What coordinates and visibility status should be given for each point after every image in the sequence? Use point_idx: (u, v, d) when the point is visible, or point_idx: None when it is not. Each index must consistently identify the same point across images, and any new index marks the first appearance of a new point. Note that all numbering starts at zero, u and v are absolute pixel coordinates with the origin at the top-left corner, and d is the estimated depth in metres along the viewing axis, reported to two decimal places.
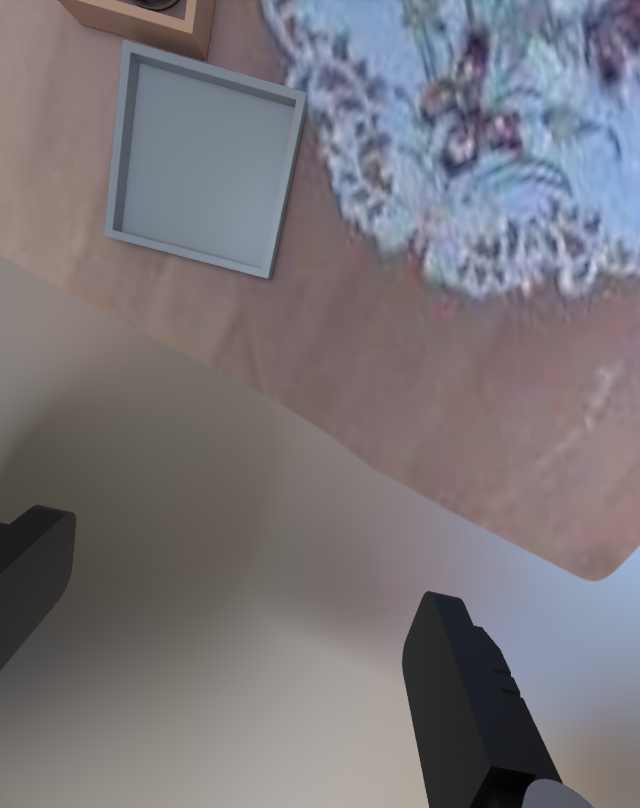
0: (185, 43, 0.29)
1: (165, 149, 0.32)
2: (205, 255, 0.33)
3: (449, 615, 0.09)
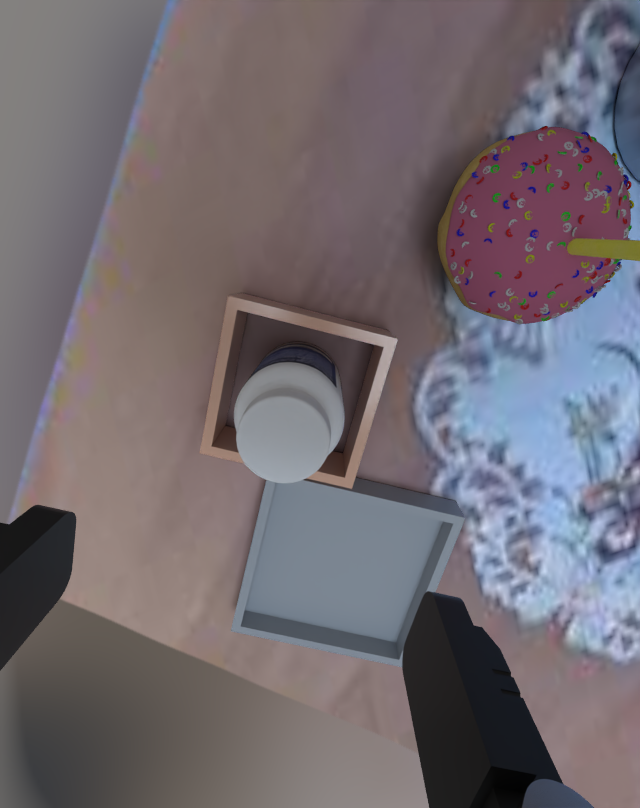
0: None
1: (299, 543, 0.30)
2: (339, 648, 0.30)
3: (449, 615, 0.09)
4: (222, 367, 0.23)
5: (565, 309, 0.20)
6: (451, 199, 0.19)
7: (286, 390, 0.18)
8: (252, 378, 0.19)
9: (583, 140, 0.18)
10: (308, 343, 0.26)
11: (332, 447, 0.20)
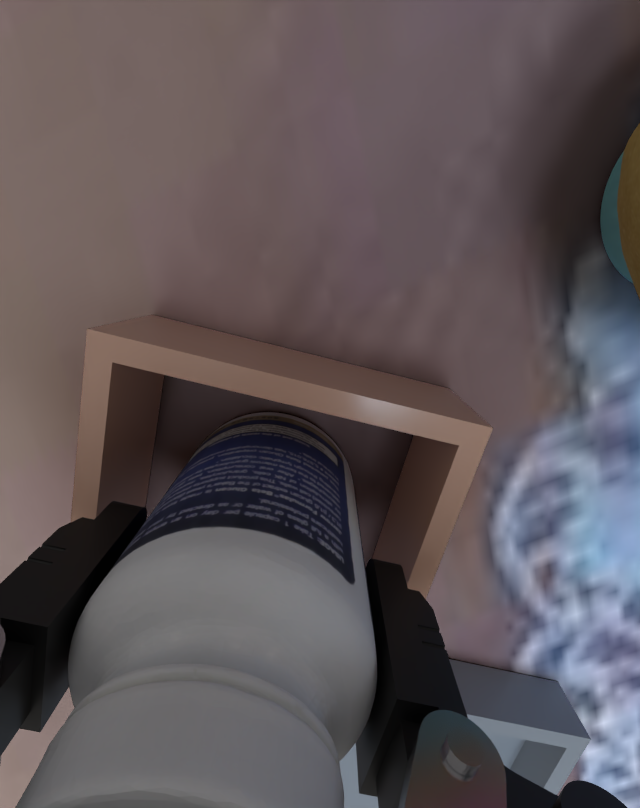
0: None
1: None
2: None
3: (386, 578, 0.09)
4: (90, 488, 0.10)
5: None
6: None
7: (182, 704, 0.05)
8: (110, 584, 0.07)
9: None
10: (289, 415, 0.13)
11: (344, 755, 0.07)
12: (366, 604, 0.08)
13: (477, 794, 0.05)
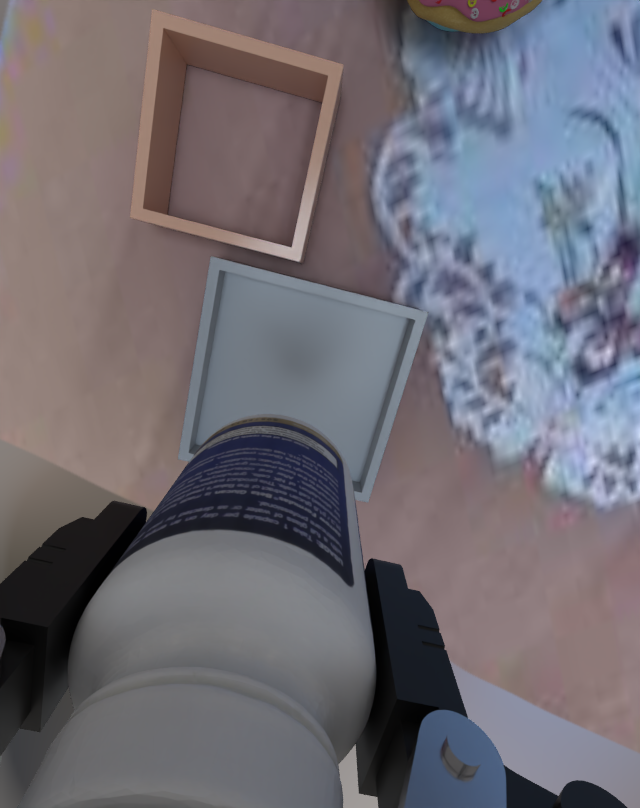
0: (285, 258, 0.24)
1: (251, 360, 0.27)
2: None
3: (385, 578, 0.09)
4: (150, 104, 0.21)
5: None
6: None
7: (181, 708, 0.05)
8: (109, 586, 0.07)
9: None
10: None
11: (343, 757, 0.07)
12: (365, 606, 0.08)
13: (477, 794, 0.05)
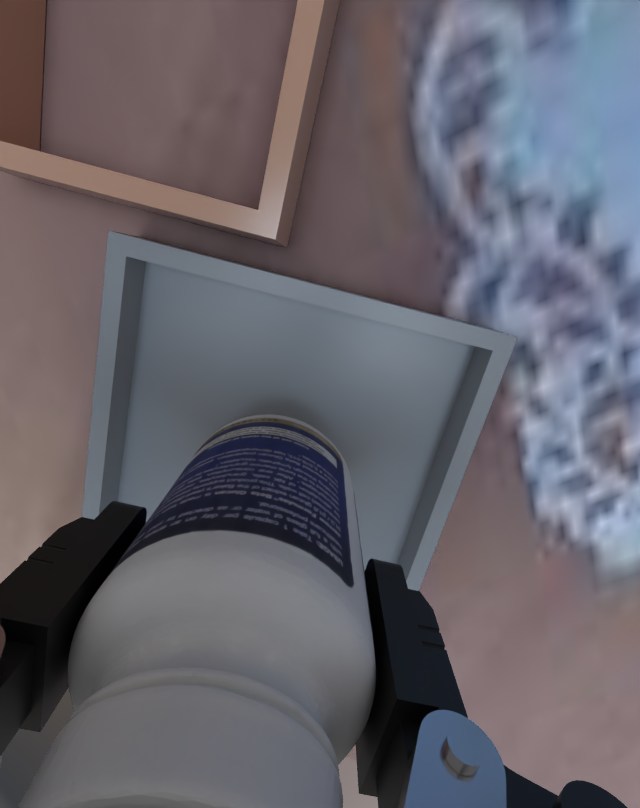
0: (250, 235, 0.13)
1: (198, 414, 0.16)
2: None
3: (385, 578, 0.09)
4: None
5: None
6: None
7: (181, 708, 0.05)
8: (109, 587, 0.07)
9: None
10: (289, 417, 0.13)
11: (343, 758, 0.07)
12: (365, 607, 0.08)
13: (476, 794, 0.05)
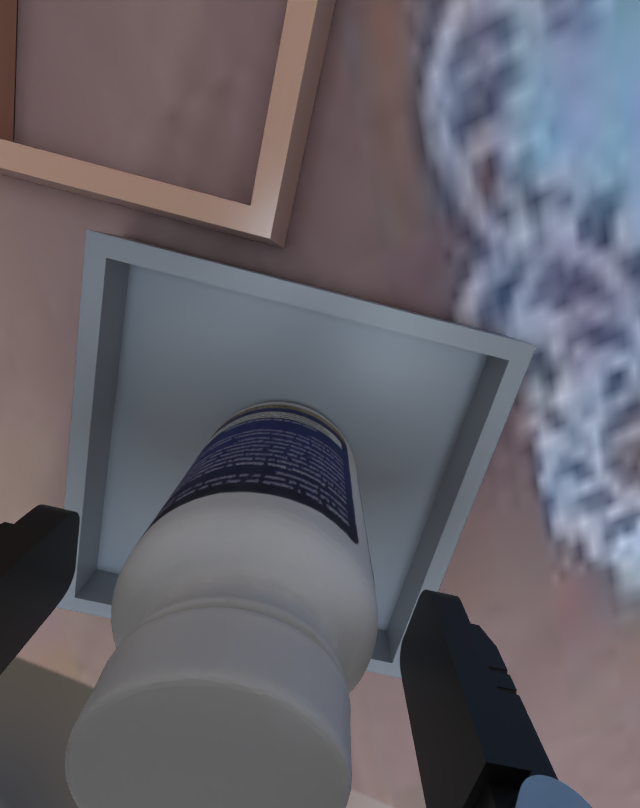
0: (243, 234, 0.12)
1: (188, 428, 0.15)
2: None
3: (446, 613, 0.09)
4: None
5: None
6: None
7: (219, 622, 0.06)
8: (149, 538, 0.08)
9: None
10: (297, 404, 0.14)
11: (349, 692, 0.08)
12: (368, 563, 0.09)
13: None
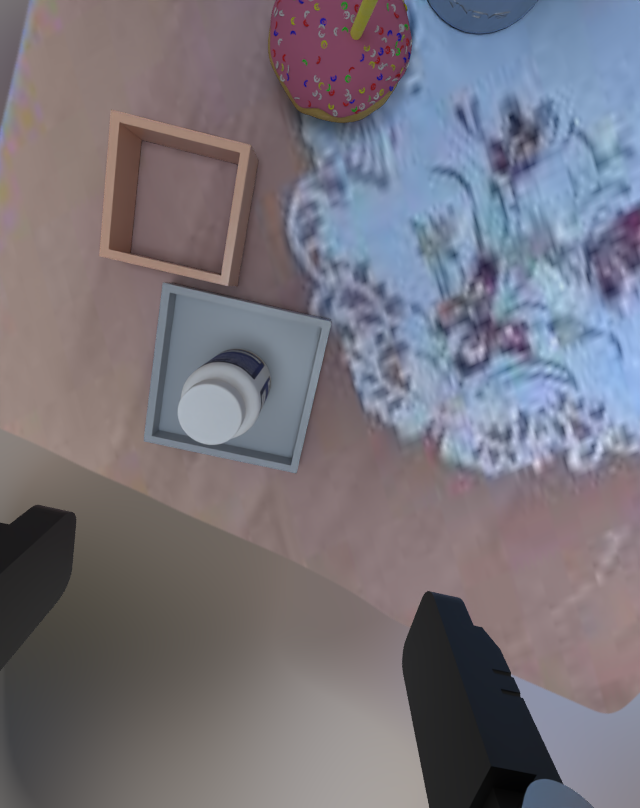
0: None
1: (199, 361, 0.35)
2: (238, 455, 0.35)
3: (449, 615, 0.09)
4: (111, 175, 0.28)
5: (367, 98, 0.25)
6: None
7: (211, 380, 0.26)
8: (192, 373, 0.28)
9: None
10: (244, 349, 0.34)
11: (251, 421, 0.28)
12: (258, 386, 0.29)
13: None
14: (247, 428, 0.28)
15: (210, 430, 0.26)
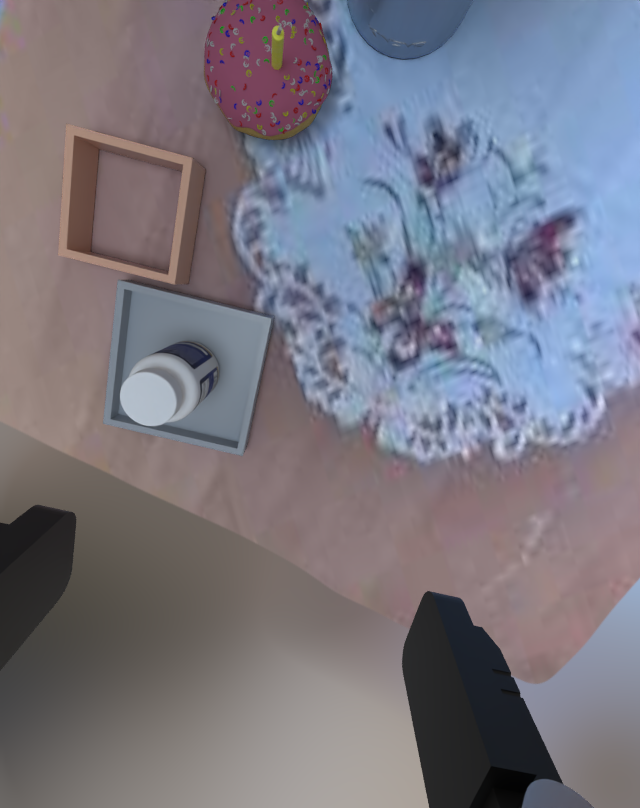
0: None
1: (154, 352, 0.38)
2: (189, 438, 0.39)
3: (449, 615, 0.09)
4: (68, 182, 0.31)
5: (291, 120, 0.28)
6: None
7: (150, 369, 0.29)
8: (137, 363, 0.31)
9: None
10: None
11: (190, 407, 0.32)
12: (198, 375, 0.32)
13: None
14: (187, 412, 0.32)
15: (149, 413, 0.29)
